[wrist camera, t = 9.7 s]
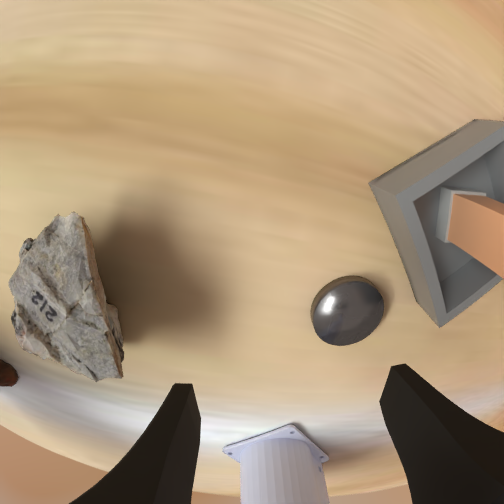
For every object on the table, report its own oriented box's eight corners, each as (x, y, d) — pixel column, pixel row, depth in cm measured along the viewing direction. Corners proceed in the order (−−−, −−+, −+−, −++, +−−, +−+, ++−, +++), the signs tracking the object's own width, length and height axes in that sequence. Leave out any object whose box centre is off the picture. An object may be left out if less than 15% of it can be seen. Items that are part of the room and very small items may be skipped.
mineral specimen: (86, 258, 24) (187, 283, 22) (58, 347, 21) (157, 391, 19) (11, 202, 15) (120, 217, 13) (-32, 319, 12) (65, 391, 10)
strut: (475, 189, 17) (547, 219, 10) (469, 235, 18) (534, 277, 11) (440, 186, 17) (515, 218, 10) (435, 236, 18) (501, 283, 11)
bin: (504, 235, 19) (532, 251, 15) (416, 301, 20) (439, 328, 17) (474, 119, 15) (509, 122, 12) (368, 183, 17) (395, 195, 14)
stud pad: (387, 314, 21) (392, 321, 20) (328, 347, 22) (331, 356, 21) (363, 262, 19) (369, 268, 18) (297, 300, 20) (300, 308, 19)
